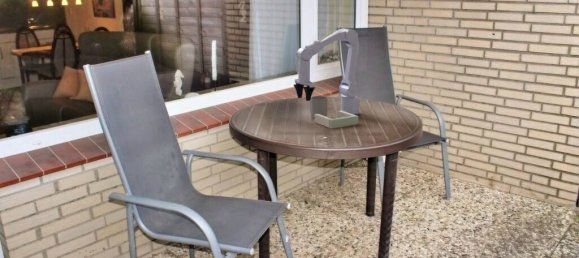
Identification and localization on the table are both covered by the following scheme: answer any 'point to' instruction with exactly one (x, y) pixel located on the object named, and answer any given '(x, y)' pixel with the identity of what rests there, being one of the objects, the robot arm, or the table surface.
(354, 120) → the stall
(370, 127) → the table surface
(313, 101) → the cup
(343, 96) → the robot arm
